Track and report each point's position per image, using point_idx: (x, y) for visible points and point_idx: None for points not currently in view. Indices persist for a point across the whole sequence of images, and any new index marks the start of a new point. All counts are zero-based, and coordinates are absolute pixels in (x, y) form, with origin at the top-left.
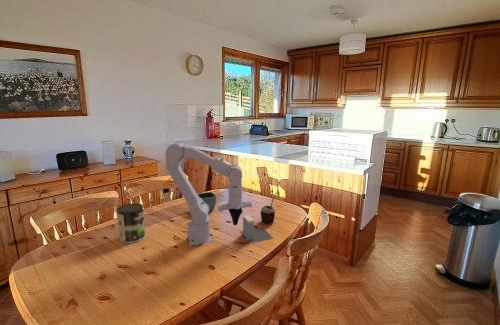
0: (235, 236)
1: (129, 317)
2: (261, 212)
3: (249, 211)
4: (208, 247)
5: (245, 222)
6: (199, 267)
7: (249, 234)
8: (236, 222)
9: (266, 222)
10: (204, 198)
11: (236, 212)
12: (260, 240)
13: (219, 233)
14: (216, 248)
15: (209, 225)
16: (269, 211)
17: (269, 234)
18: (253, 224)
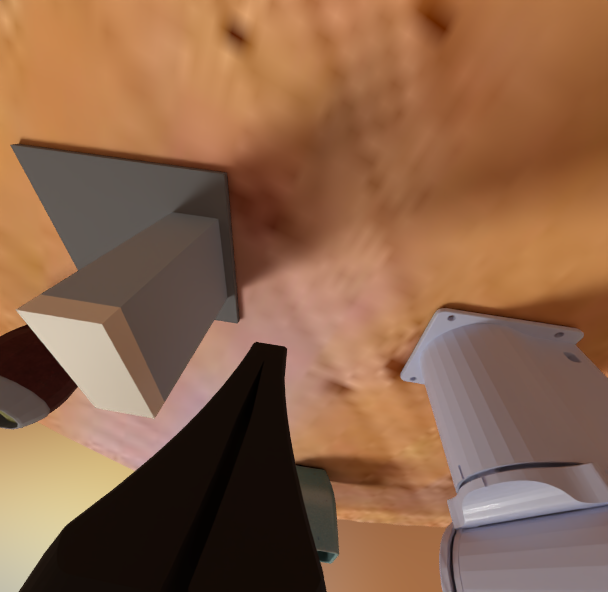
0: (278, 298)
1: None
2: (53, 394)
3: (155, 417)
4: (501, 269)
5: (162, 341)
6: None
7: (182, 235)
8: (256, 365)
9: None
10: (321, 549)
11: (193, 588)
12: (121, 169)
13: (346, 356)
14: (467, 233)
15: (459, 425)
16: None
17: (51, 216)
18: (75, 277)
